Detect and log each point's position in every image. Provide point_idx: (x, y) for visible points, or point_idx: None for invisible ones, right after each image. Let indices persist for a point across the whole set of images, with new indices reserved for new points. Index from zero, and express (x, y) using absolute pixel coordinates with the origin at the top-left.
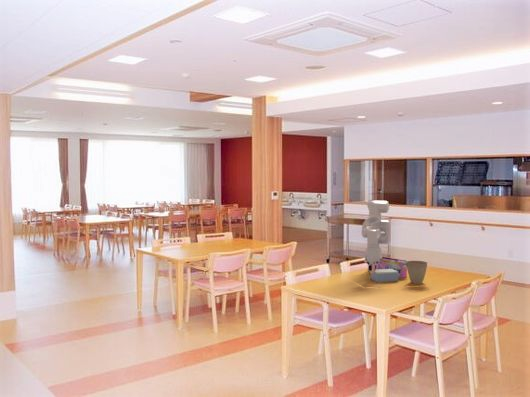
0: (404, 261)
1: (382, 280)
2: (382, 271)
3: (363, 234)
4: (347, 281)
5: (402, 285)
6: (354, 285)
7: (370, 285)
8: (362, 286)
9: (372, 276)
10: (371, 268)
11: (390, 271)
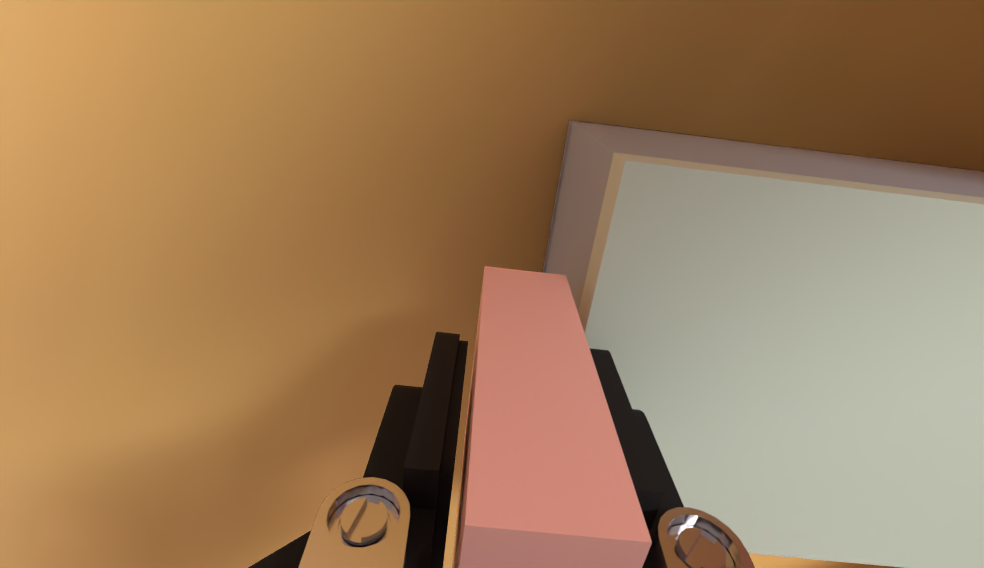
0: None
1: None
2: (751, 489)
3: None
4: (22, 72)
5: (756, 556)
6: (112, 389)
7: (354, 451)
8: (218, 463)
9: (565, 235)
10: (461, 484)
11: (928, 539)
